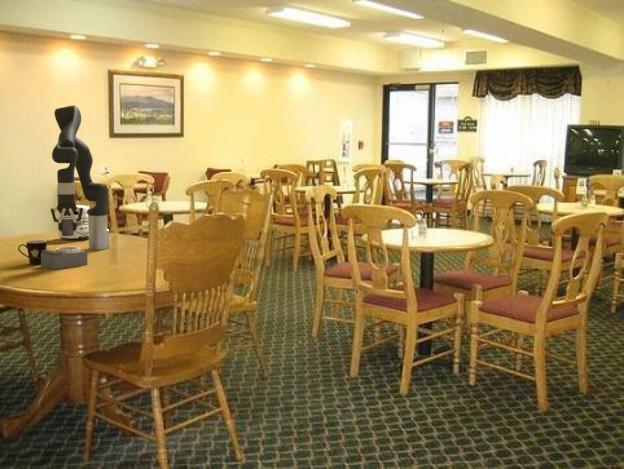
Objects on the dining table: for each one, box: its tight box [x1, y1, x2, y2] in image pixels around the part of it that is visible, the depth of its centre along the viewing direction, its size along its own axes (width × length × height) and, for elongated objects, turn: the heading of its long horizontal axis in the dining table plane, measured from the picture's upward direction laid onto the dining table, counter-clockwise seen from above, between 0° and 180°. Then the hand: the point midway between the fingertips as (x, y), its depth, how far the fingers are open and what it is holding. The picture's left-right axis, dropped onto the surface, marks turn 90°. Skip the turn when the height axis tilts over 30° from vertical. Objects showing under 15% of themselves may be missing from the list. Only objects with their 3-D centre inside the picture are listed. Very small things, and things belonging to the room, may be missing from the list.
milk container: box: [57, 204, 90, 241], centre depth 389 cm, size 17×17×18 cm
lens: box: [61, 216, 74, 238], centre depth 315 cm, size 5×5×9 cm
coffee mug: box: [17, 239, 48, 266], centre depth 319 cm, size 12×9×10 cm
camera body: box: [40, 246, 88, 270], centre depth 315 cm, size 16×11×8 cm
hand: (67, 230), depth 315 cm, fingers closed on lens, 5 cm apart
